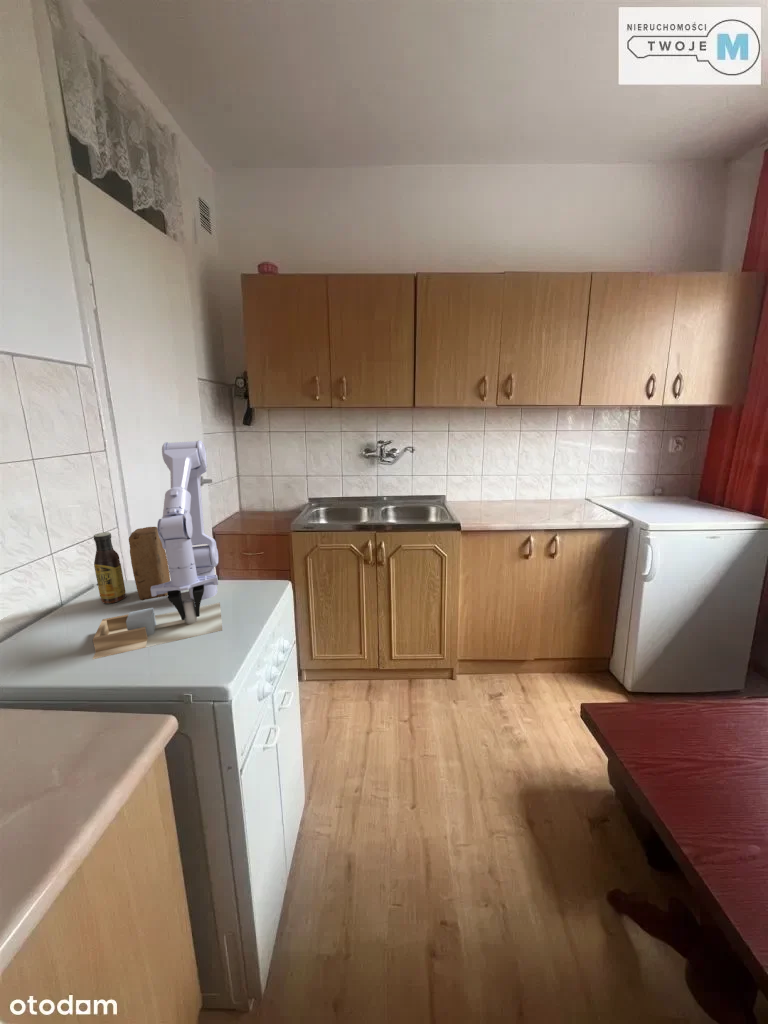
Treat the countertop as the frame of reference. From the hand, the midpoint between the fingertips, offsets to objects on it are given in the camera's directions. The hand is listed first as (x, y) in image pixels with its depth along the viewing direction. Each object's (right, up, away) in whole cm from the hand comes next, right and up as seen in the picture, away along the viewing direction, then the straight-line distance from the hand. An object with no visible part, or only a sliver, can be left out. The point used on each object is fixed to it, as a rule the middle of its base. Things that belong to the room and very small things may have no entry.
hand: (190, 616), depth 103 cm
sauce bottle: (-30, 0, +18) cm, 35 cm away
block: (-19, +1, +20) cm, 28 cm away
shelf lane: (-6, -4, -1) cm, 7 cm away
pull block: (-5, -2, -2) cm, 6 cm away
